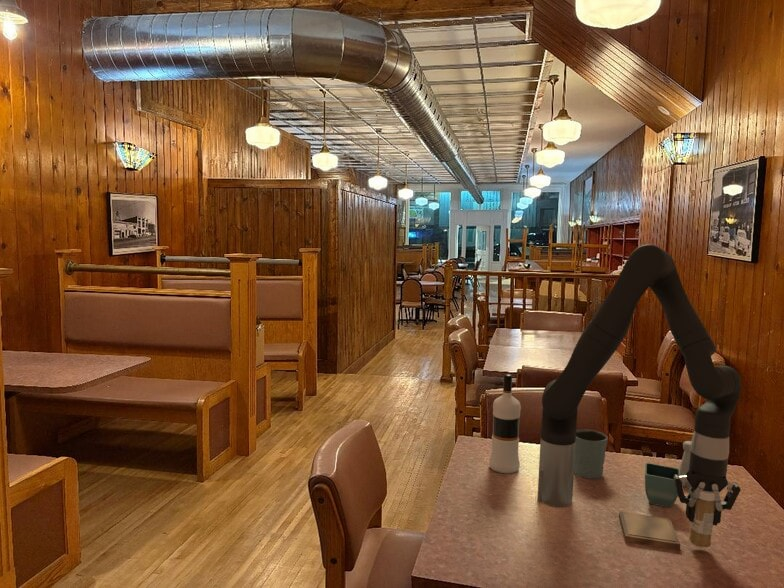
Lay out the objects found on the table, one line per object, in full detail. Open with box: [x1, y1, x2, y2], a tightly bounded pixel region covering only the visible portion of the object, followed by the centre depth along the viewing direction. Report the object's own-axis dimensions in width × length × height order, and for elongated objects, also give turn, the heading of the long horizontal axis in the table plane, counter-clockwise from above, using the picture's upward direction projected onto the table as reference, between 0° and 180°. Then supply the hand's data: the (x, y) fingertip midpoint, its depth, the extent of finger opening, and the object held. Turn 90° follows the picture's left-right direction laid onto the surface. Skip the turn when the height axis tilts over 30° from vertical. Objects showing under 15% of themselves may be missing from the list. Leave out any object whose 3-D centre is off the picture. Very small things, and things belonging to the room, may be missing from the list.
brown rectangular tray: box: [618, 511, 681, 551], centre depth 137 cm, size 12×12×2 cm
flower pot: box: [644, 462, 680, 508], centre depth 152 cm, size 9×9×9 cm
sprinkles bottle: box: [688, 490, 715, 548], centre depth 129 cm, size 5×5×13 cm
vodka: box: [488, 373, 521, 475], centre depth 171 cm, size 9×9×30 cm
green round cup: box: [574, 429, 609, 480], centre depth 170 cm, size 10×10×12 cm
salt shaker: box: [678, 440, 692, 489], centre depth 163 cm, size 6×6×13 cm
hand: (702, 521), depth 129 cm, fingers closed on sprinkles bottle, 4 cm apart
